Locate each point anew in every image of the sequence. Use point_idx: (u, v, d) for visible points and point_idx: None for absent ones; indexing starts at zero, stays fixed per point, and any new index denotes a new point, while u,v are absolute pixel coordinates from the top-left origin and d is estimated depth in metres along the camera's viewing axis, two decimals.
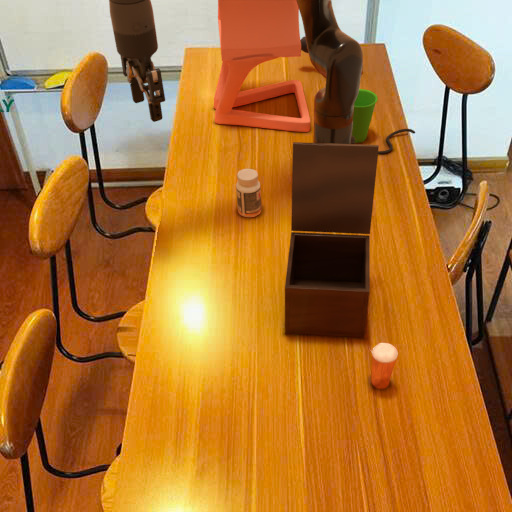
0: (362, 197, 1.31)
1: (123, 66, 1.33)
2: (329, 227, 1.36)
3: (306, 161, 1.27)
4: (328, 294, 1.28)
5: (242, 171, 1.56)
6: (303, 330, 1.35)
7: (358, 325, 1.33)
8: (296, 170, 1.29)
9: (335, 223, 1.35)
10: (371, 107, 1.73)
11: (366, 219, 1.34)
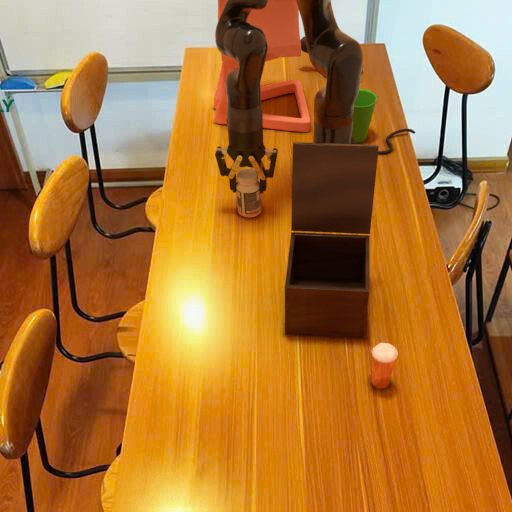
0: (362, 197, 1.31)
1: (222, 168, 1.53)
2: (329, 227, 1.36)
3: (306, 161, 1.27)
4: (328, 294, 1.28)
5: (242, 171, 1.56)
6: (303, 330, 1.35)
7: (358, 325, 1.33)
8: (296, 170, 1.29)
9: (335, 223, 1.35)
10: (371, 107, 1.73)
11: (366, 219, 1.34)
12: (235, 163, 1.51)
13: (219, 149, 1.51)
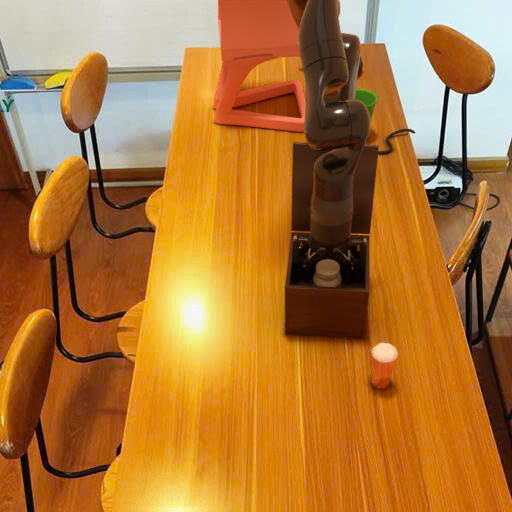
0: (362, 197, 1.31)
1: (295, 257, 1.31)
2: None
3: (306, 161, 1.27)
4: (328, 294, 1.28)
5: (321, 263, 1.34)
6: (303, 330, 1.35)
7: (358, 325, 1.33)
8: (296, 170, 1.29)
9: None
10: (371, 107, 1.73)
11: (366, 219, 1.34)
12: (315, 255, 1.29)
13: (298, 237, 1.28)
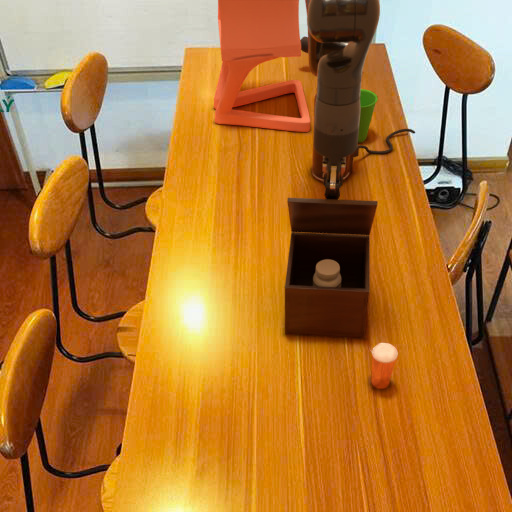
0: (361, 223, 1.29)
1: None
2: (329, 232, 1.36)
3: (303, 208, 1.23)
4: (328, 294, 1.28)
5: (321, 263, 1.34)
6: (303, 330, 1.35)
7: (358, 325, 1.33)
8: (292, 211, 1.25)
9: (335, 230, 1.35)
10: (371, 107, 1.73)
11: (366, 230, 1.33)
12: None
13: None
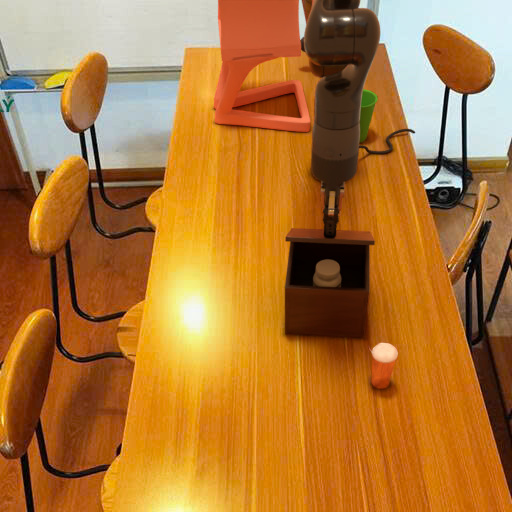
0: None
1: None
2: None
3: None
4: (328, 294, 1.28)
5: (321, 263, 1.34)
6: (303, 330, 1.35)
7: (358, 325, 1.33)
8: None
9: None
10: (371, 107, 1.73)
11: None
12: None
13: None
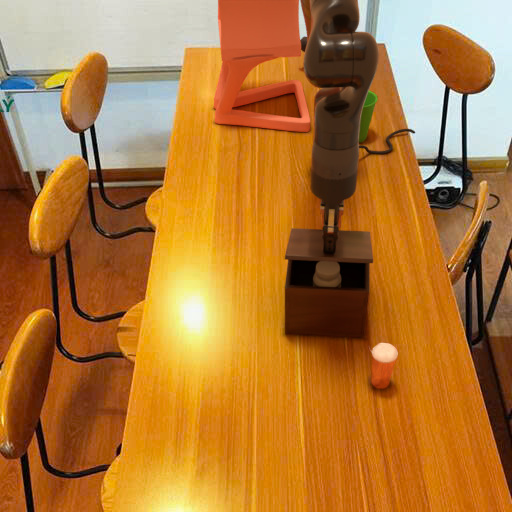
0: None
1: None
2: None
3: None
4: (328, 294, 1.28)
5: (321, 263, 1.34)
6: (303, 330, 1.35)
7: (358, 325, 1.33)
8: None
9: None
10: (371, 107, 1.73)
11: None
12: None
13: None
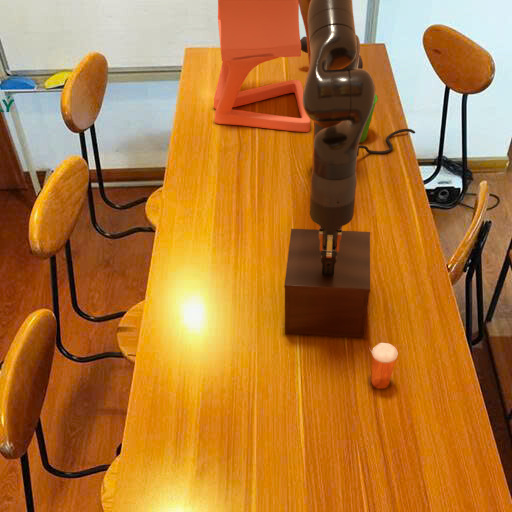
0: None
1: None
2: None
3: None
4: (328, 294, 1.28)
5: None
6: (303, 330, 1.35)
7: (358, 325, 1.33)
8: None
9: None
10: None
11: None
12: None
13: None
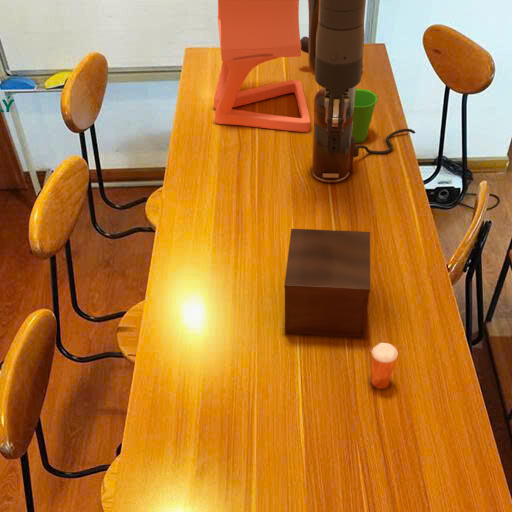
0: None
1: None
2: None
3: None
4: (328, 294, 1.28)
5: None
6: (303, 330, 1.35)
7: (358, 325, 1.33)
8: None
9: None
10: (371, 107, 1.73)
11: None
12: None
13: None
